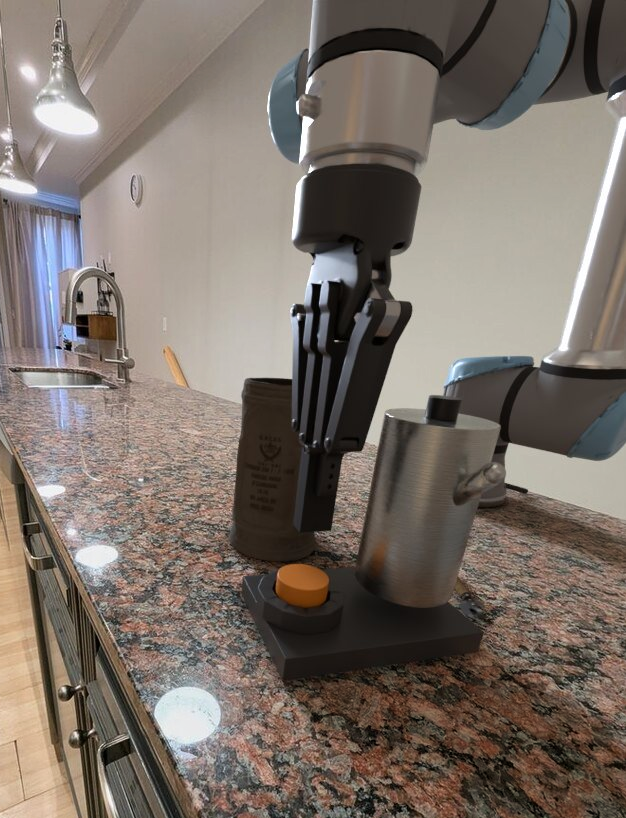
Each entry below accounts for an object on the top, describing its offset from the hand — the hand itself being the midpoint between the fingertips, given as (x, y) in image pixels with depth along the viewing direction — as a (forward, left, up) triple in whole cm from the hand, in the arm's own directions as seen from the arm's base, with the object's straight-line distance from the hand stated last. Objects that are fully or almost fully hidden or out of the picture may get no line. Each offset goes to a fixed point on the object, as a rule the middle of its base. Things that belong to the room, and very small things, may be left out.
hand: (312, 527), depth 36 cm
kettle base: (-5, 0, -10) cm, 11 cm away
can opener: (-19, -2, -10) cm, 22 cm away
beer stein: (-4, -19, -10) cm, 22 cm away
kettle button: (0, 0, -6) cm, 6 cm away
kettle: (-10, 0, -6) cm, 11 cm away
